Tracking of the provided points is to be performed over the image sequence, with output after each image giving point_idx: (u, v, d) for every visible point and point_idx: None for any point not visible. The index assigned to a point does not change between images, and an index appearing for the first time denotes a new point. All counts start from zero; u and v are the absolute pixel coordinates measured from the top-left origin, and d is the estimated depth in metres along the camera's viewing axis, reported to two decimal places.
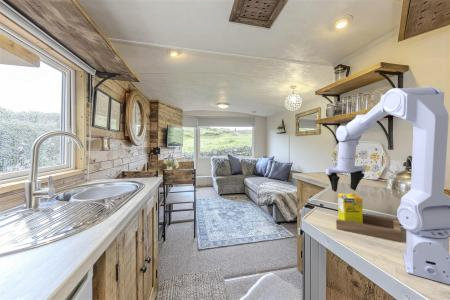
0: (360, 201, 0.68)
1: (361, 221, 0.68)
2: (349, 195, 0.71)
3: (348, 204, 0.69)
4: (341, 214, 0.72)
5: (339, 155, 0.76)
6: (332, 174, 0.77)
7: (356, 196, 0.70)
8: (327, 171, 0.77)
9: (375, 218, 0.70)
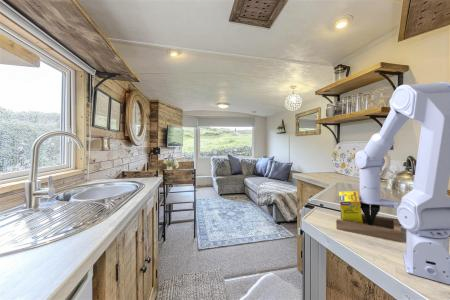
0: (358, 204, 0.66)
1: (361, 221, 0.68)
2: (348, 195, 0.69)
3: (345, 206, 0.68)
4: None
5: (361, 184, 0.67)
6: None
7: (355, 197, 0.67)
8: None
9: (375, 218, 0.70)
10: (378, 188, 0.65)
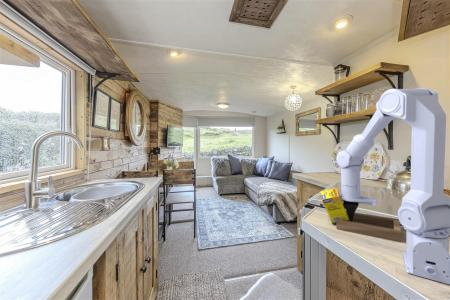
0: (338, 199, 0.69)
1: (345, 215, 0.70)
2: (329, 193, 0.73)
3: (328, 204, 0.71)
4: None
5: (343, 183, 0.70)
6: None
7: (335, 193, 0.71)
8: None
9: (375, 218, 0.70)
10: (357, 186, 0.68)
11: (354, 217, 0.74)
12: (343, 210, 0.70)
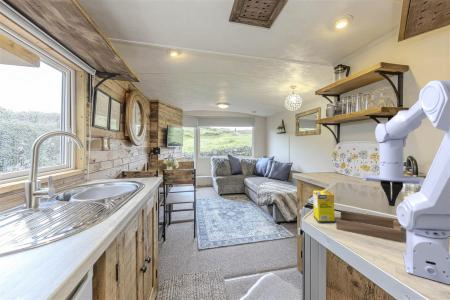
0: (332, 197, 0.74)
1: (333, 215, 0.74)
2: (322, 192, 0.77)
3: (321, 200, 0.74)
4: (315, 210, 0.77)
5: (380, 159, 0.62)
6: None
7: (329, 193, 0.76)
8: (363, 177, 0.66)
9: (375, 218, 0.70)
10: (401, 163, 0.59)
11: (354, 217, 0.74)
12: (332, 210, 0.74)
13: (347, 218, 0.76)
